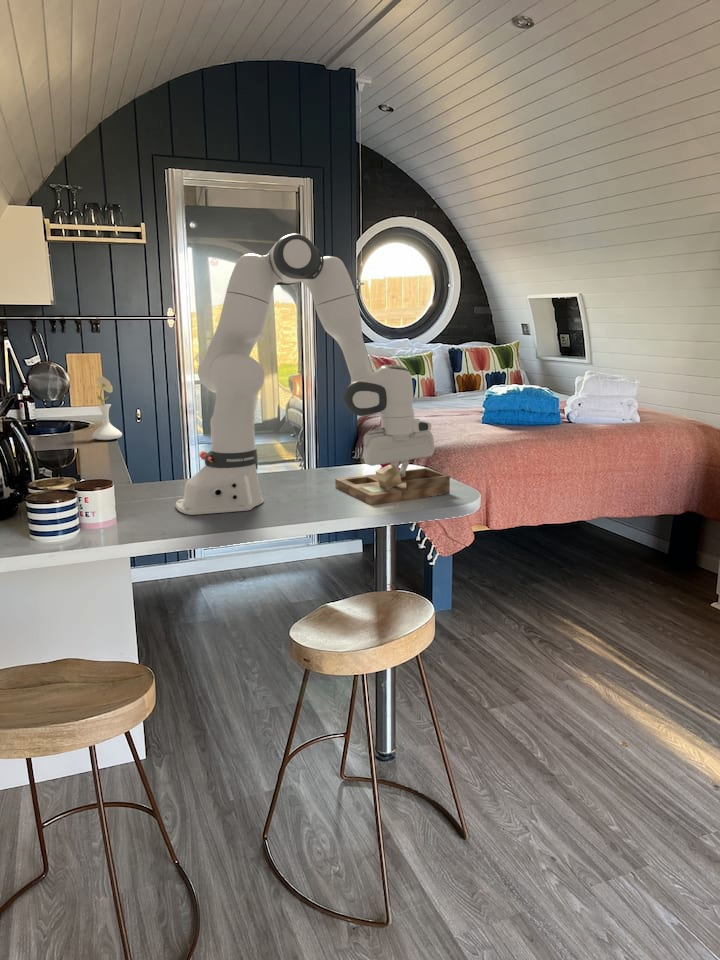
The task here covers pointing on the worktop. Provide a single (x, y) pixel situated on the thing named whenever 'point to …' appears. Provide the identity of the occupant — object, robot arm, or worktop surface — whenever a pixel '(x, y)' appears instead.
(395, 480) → the maple block
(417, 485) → the board
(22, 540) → the worktop surface
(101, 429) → the flower in vase
